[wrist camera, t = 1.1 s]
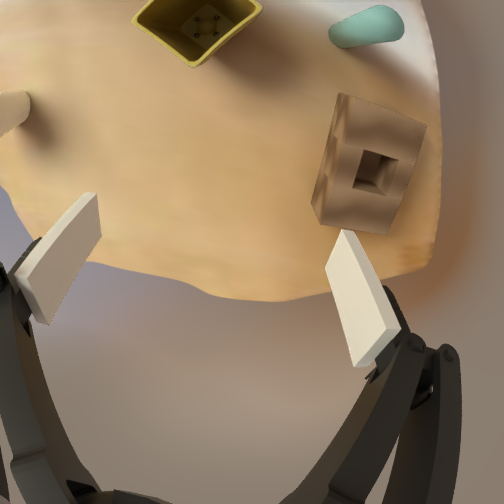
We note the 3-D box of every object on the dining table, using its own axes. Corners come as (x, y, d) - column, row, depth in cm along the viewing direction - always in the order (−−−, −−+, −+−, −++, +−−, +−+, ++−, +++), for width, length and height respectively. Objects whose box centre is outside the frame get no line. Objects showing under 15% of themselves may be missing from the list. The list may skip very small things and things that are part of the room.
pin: (331, 19, 23) (370, -1, 13) (358, 28, 23) (406, 15, 13) (326, 43, 25) (364, 31, 15) (353, 51, 25) (401, 47, 15)
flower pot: (209, -16, 20) (196, -41, 12) (260, 24, 24) (265, 8, 16) (157, 31, 23) (128, 21, 16) (207, 71, 27) (193, 70, 20)
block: (338, 92, 29) (355, 97, 24) (403, 115, 30) (427, 125, 25) (310, 202, 38) (320, 224, 33) (371, 213, 39) (386, 235, 34)
